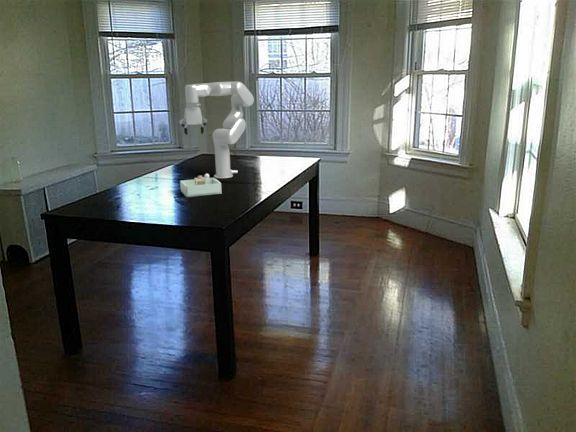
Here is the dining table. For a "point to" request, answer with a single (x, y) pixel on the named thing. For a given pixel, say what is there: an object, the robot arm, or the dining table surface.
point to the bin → (200, 187)
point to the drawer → (200, 180)
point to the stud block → (208, 176)
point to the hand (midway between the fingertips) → (194, 134)
